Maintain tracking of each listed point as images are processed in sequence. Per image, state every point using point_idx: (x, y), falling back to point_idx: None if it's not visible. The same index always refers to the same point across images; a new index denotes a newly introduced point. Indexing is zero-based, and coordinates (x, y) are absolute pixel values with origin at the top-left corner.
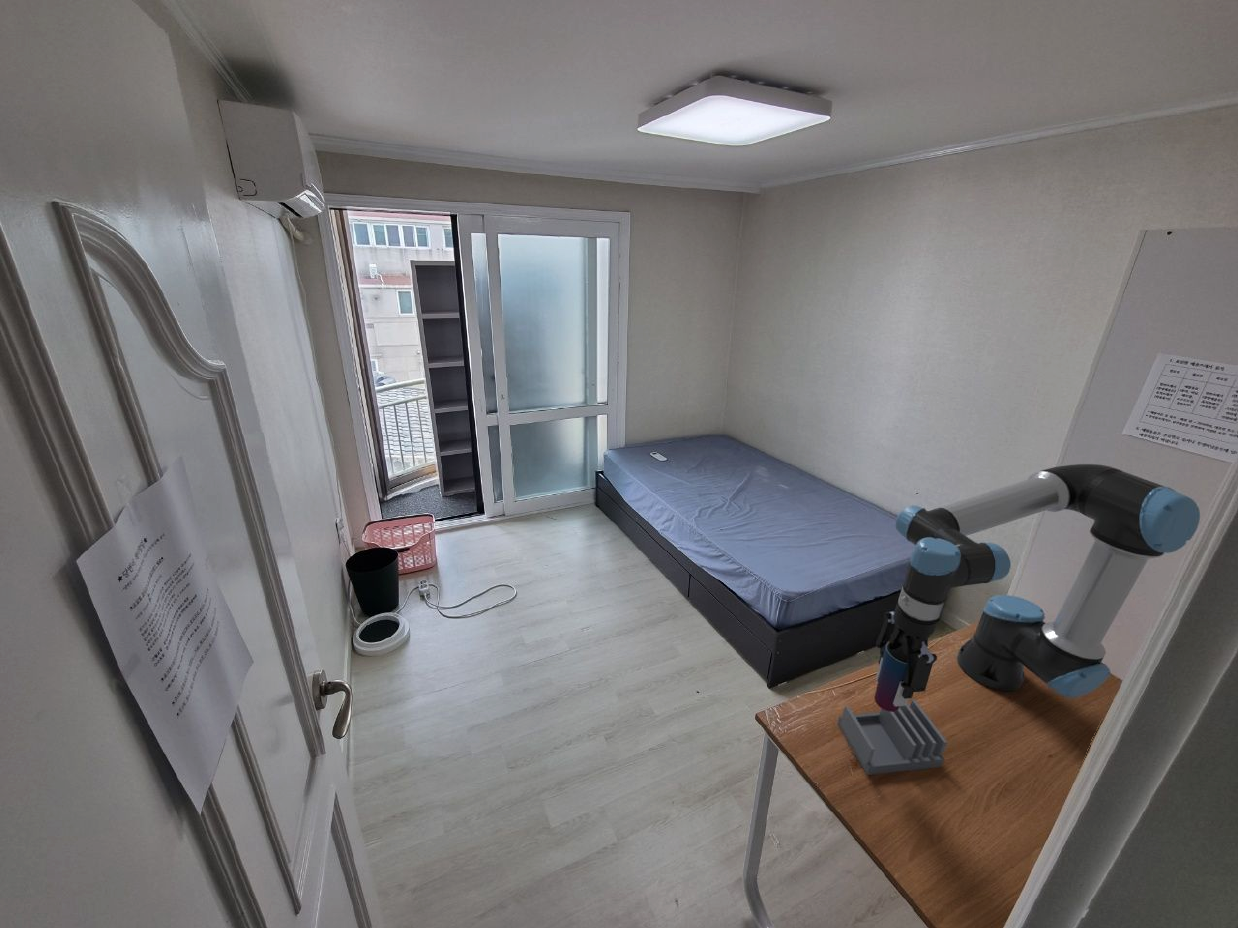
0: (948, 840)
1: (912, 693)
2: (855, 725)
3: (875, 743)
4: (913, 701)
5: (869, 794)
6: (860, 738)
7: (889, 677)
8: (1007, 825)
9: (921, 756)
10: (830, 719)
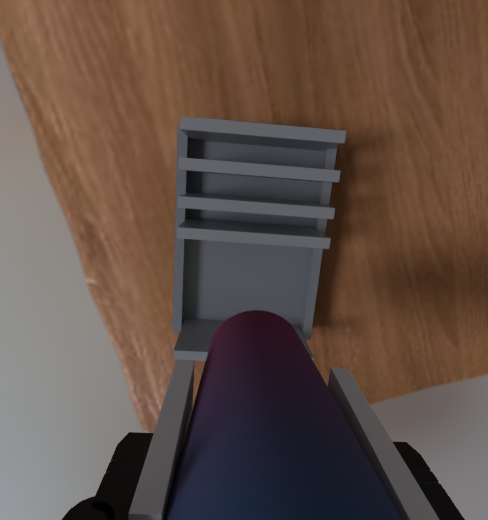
0: (457, 253)
1: (441, 493)
2: None
3: (249, 275)
4: (186, 128)
5: (340, 345)
6: None
7: None
8: (480, 96)
9: (304, 184)
10: (165, 329)
